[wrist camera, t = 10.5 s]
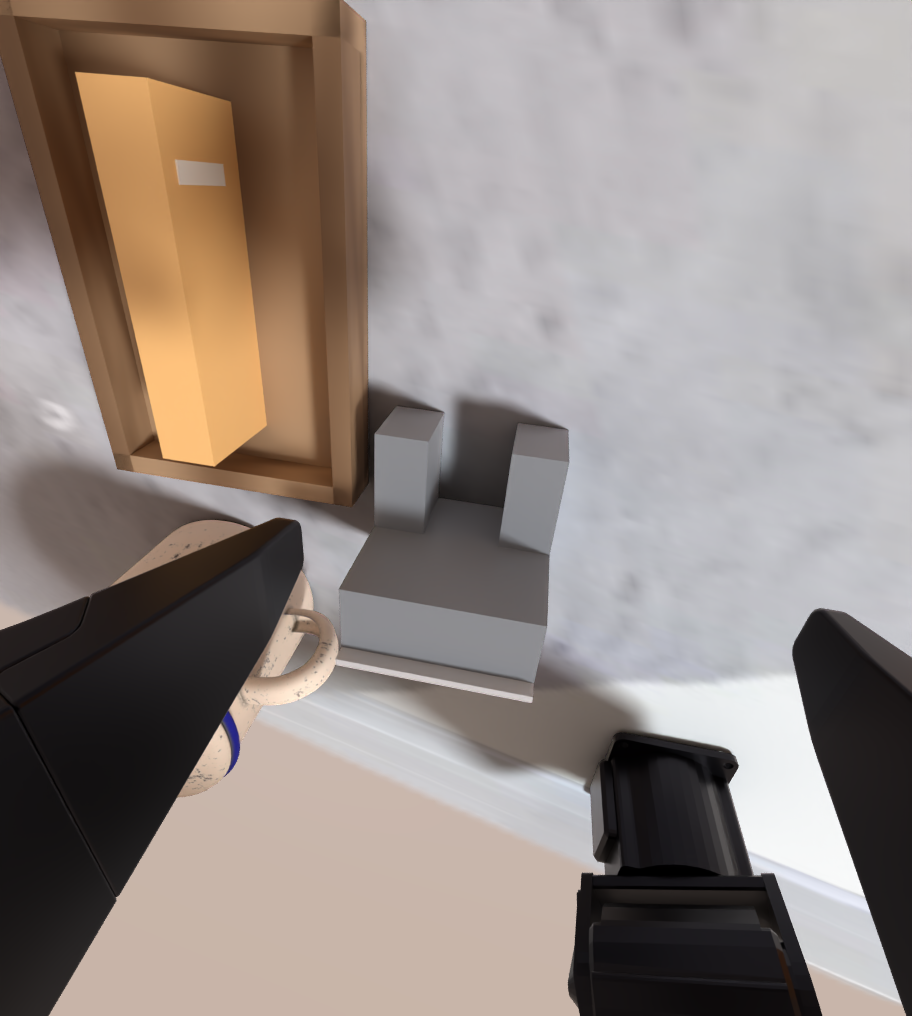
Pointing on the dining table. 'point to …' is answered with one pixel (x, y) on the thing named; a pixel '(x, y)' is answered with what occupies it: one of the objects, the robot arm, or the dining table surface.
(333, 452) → the tray
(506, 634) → the grey slotted holder
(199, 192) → the tan elongated block
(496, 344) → the dining table surface
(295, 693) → the teacup with lid
